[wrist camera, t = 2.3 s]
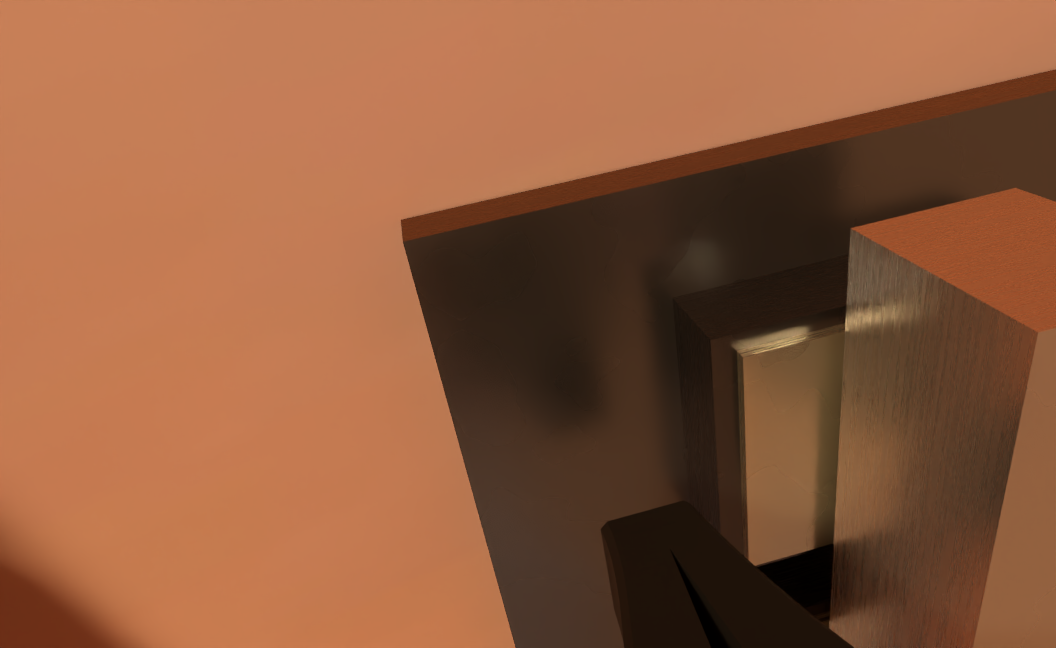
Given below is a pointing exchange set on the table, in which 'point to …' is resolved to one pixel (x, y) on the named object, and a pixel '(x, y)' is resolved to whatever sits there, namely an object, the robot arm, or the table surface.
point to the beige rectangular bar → (949, 430)
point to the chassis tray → (604, 317)
